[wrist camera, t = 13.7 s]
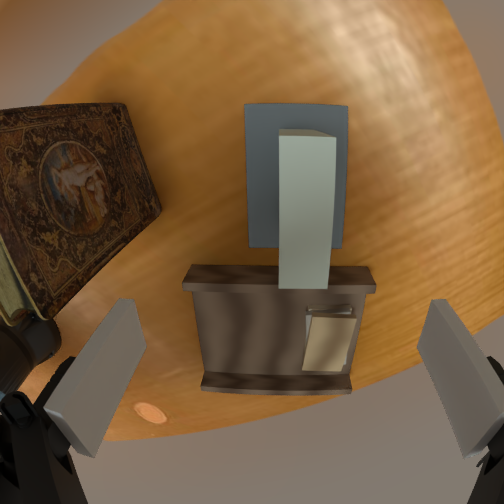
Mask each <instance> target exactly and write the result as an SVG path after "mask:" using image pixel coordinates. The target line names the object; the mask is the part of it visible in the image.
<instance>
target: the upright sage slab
mask: <svg viewBox="0 0 504 504" xmlns="http://www.w3.org/2000/svg"><path fill="white" fill-rule="evenodd" d="M335 171H336V137H334V136H331V135H328V134H325V133H322V132H319V131H316V130H311V129H279V289H327V287H328V277H329V267H330V255H331V243H332V229H333V214H334V195H335Z"/></svg>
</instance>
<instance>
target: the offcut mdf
mask: <svg viewBox="0 0 504 504" xmlns="http://www.w3.org/2000/svg"><path fill="white" fill-rule="evenodd" d="M312 312H315V313H334V314H350V309H349V308H338V309H325V310H312V311H306V342H307V337H308V332H309V326H310V321H311V315H312ZM346 358H347V355H346ZM346 358H345V361H344V364H343V365H346Z"/></svg>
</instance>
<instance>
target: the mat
mask: <svg viewBox="0 0 504 504" xmlns="http://www.w3.org/2000/svg"><path fill="white" fill-rule="evenodd" d="M244 107H245V140H246V173H247V204H248V235H249V248H279V129H311V130H316V131H319V132H322V133H325V134H328V135H331V136H334V137H336V171H335V195H334V214H333V229H332V243H331V248H335V249H342V238H343V225H344V212H345V196H346V177H347V150H348V106H340V105H322V104H284V103H273V104H244Z"/></svg>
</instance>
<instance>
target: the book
mask: <svg viewBox="0 0 504 504" xmlns="http://www.w3.org/2000/svg"><path fill="white" fill-rule="evenodd" d="M160 213H161V205H160V202H159V199H158V197H157V194H156V191H155V188H154V185H153V183H152V180H151V177H150V175H149V172H148V169H147V166H146V164H145V161H144V158H143V155H142V152H141V150H140V147H139V144H138V141H137V138H136V135H135V132H134V129H133V126H132V123H131V120H130V117H129V114H128V111H127V108H126V106H125V105H124V104H121V103H75V104H55V105H41V106H29V107H21V108H11V109H3V110H0V314H1V316H2V317H3V319H4V321H5V322H6V324H7V325H9V326H16V325H18V324H19V323H20V322H21V321H22V320H23V319H24V318H25V317H26V316H27V315H28V314H29V313H30V312H33V313H36V314H38V316H39V317H40V318H41V319H42V320H50V319H52V318H53V317H54V316H55V315H57V313H58V312H59V311H60V310H61V309H62V308H63V307H64V306H65V305H66V304H67V303H68V302H69V301H70V300H71V299H72V298H73V297H74V296H75V295H76V294H77V293H78V292H79V291H80V290H81V289H82V288H83V287H84V286H85V285H86V284H87V283H88V282H89V281H90V280H91V279H92V278H93V277H94V276H95V275H96V274H97V273H98V272H99V271H100V270H101V269H102V268H103V267H104V266H105V265H106V264H107V263H108V262H109V261H110V260H111V259H112V258H113V257H114V256H116V255H117V254H118V253H119V252H120V251H121V250H122V249H123V248H124V247H125V246H126V245H127V244H128V243H129V242H131V241H132V240H133V239H134V238H135V237H136V236H137V235H138V234H139V233H140V232H142V231H143V230H144V229H145V228H146V227H147V226H148V225H149V224H151V223H152V222H153V221H154V220H155V219H156V218H157V217H158V216H159V215H160Z"/></svg>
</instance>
